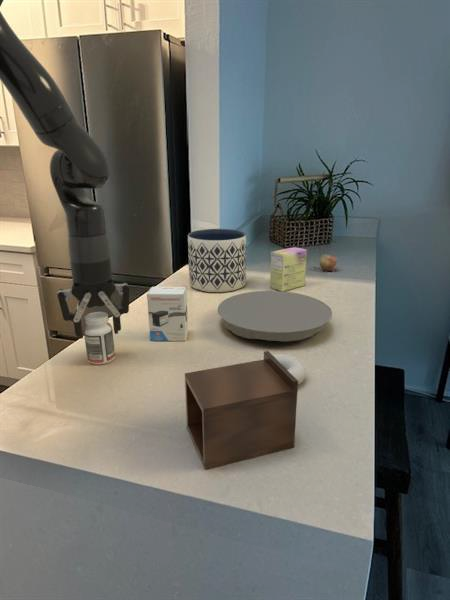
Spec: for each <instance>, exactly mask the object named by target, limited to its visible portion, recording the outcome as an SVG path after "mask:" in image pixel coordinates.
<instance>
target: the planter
mask: <svg viewBox="0 0 450 600" xmlns="http://www.w3.org/2000/svg"><path fill="white" fill-rule="evenodd" d="M187 253H188V254H187V255H188V278H189V279H188V280H189V282H188V283H189V285H190V287H192V288H193V289H195V290H196V291H201V292H205V293H218V294H219V293H228V292H229V293H230V292H233V291H234V292H235V291H237V290H239V289H241V288H243V287H244V286H245V285H246V282H247V281H246V280H247V279H246V278H247V277H246V276H247V275H246V272H247V271H246V270H247V233H246V232H244V231H242V230H239V229H238V230H237V229H230V228H206V229H199V230H198V229H197V230H194V231H191V232H188V234H187Z"/></svg>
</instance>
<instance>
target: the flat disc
mask: <svg viewBox="0 0 450 600" xmlns="http://www.w3.org/2000/svg"><path fill="white" fill-rule="evenodd" d="M217 313H218V315H219V317H220V318H221V320H222V323H223V325H224V326H225V328H226V329H227V330H228V331H231V333H233V334H234V335H236V336H238V337H241V338H244V339H248V340H249V339H250V340H262V341H263V340H264V341H268V342H271V341H273V342H274V341H276V342H278V341H279V342H293V341H301V340H305V339H306V338H311V337H313V336H314V335H315V334H317V333H318V332H321V331H322V330H324V329H325V327H326V326H327V324H328V322H329V321H330V320H331V319H332V318H333V311H332V308H331V307H330V306H329V305H328V304H327V303H326V302H324V301H322V300H320V299H317V298H315V297H312V296H309V295H306V294H302V293H297V292H291V291H279V290H257V291H249V292H243V293H238V294H235V295H232V296H229V297H227V298H225V299H224V300H222V301H220V303H219V304H218V306H217Z"/></svg>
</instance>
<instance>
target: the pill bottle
mask: <svg viewBox="0 0 450 600" xmlns="http://www.w3.org/2000/svg"><path fill="white" fill-rule="evenodd" d="M109 320H110V318H109V314H108V313H107V312H105V311H93V312H89V313H88V314H86V315H84V324H85V326H84V328H83V338H84V344H85V350H86V351H85V352H86V358H87V361H88V363H90V364H92V365H97V366H98V365H105V364H108V363H111V362H112V361H113V360H114V359H115V358H116V350H115V349H116V348H115V340H114V330H113V325H112V324H111V323H110V322H109Z"/></svg>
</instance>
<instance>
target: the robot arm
mask: <svg viewBox="0 0 450 600" xmlns="http://www.w3.org/2000/svg"><path fill="white" fill-rule="evenodd" d="M3 3H4V0H0V7H2V4H3ZM0 81H1V82H2V84H3V86H4V87H5V89H6V90H7V91H8V93H9V94H10V96H11V98H12V99H13V101H14V102H15V104H16V105H17V107H18V109H19V110H20V112H21V113H22V115H23V117H24V118H25V120H26V121H27V123H28V125H29V126H30V128H31V129H32V131H33V133H34V134H35V136H36V137H37V139H38V140H39V141H40V143H42V144H43V145H44V146H46V147H48V148H49V147H50V148H53V149H56V150H55V151H54V153H52V154H51V155H52V156H51V158H50V162H49V175H50V178H51V182H52V184H53V188H54V189H55V192H56V195H57V197H58V199H59V202H60V205H61V206H62V207H61V208H62V209H63V211H64V214H65V222H66V229H67V234H68V235H67V240H68V241H67V249H68V256H69V264H70V271H71V278H72V279H71V280H72V286H71V288H68V289H62V288H59V289H58V290H57V299H58V303H59V307H60V311H61V315H62V318H63V320H64V321H65V322H68V321H70V322H72V323H73V326H74V334H75V336H76V337H79V339H80V340H81V339H84V331H83V325H82V319H81V318H82V316H83V314H84V313H85V310H86V308H88V309H90V308H94V307H104V306H106V307H107V309H108V310H109V311H110V312H111V313H112V314H111V316H112V328H113V334H114V335H118V334H119V332H121V330H122V323H121V322H122V321H121V316H122V315H124V314H128V313H129V311H130V286H129V285H128V282H125V281H124V282H122V283H115V282H114V281H113V273H112V262H111V254H110V252H111V250H110V244H109V240H108V239H109V238H108V235H107V225H106V218H105V217H106V216H105V209H104V207H103V205H102V204H101V203H100V202H97V201H95V200H93V199H91V198H89V197H88V196H87V195H88V194H87V193H86V191H85V189H86V190H87V189H88V190H96V189H100V188H103V187H104V186H105V185H106V184H107V183H108V181H109V179H110V171H111V170H110V164H109V161H108V158H107V156H106V154H105V152H104V151H103V149H102V148H101V147H100V145H99V144H98V143H97V141H95V140H94V138H93V137H92V135H90V133H88V131H87V130H86V129H85V128H84V127H83V126H82V125H81V124H80V122H78V121H77V119H76V117H75V115H74V113H73V111H72V109H71V107H70V105H69V104H68V102H67V100H66V98H65V96H64V94H63V93H62V90H61V89H60V87H59V85H58V84H57V82H56V81H55V79H54V78H53V77H52V76H51V74H50V72H48V70H47V69H46V67H44V66H43V64H42V63H41V62H40V61H39V59H37V57H36V56H34V54H33V53H32V52H31V51H30V50H29V49H28V48H27V46H26V45H25V44H24V43H23V42H22V40H21V39H20V38H19V37H18V35H17V34H16V33H15V32H14V30H13V29H12V28H11V26H10V24H9V23H8V21H7V20H6V19H5V16H4V15H3V13H2V11H1V10H0ZM115 291H117V292H118V294H119V296H121V306H117V305H116V304H115V302H114V301H113V299H112V298H111V297H112V296H113V295H114V293H115ZM71 296H73V297H74V298H75V299H76V300H77V301H78V302H77V303H76V307H75V310H74V312H71V311H70V309H69V305H68V301H70V299H71Z"/></svg>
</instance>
